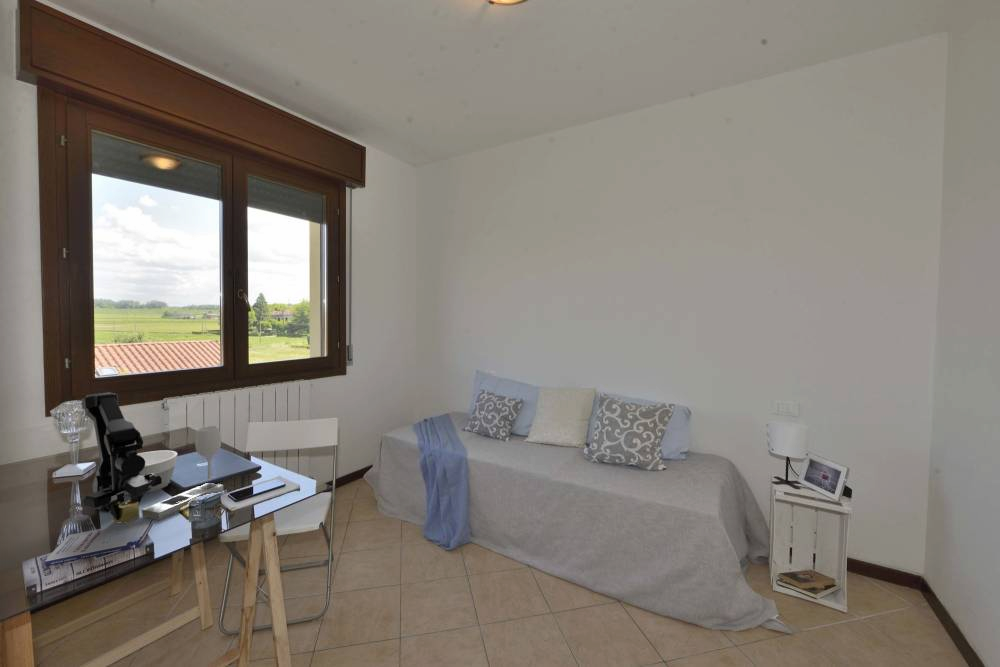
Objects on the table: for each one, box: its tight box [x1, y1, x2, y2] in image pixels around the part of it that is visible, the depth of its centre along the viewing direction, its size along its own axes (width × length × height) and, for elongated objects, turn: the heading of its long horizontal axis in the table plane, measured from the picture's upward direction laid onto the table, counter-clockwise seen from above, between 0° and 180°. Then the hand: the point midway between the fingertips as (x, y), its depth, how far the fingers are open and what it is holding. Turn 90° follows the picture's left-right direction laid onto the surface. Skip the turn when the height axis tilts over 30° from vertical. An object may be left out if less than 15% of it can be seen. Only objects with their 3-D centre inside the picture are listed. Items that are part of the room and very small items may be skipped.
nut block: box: [112, 499, 140, 524], centre depth 135 cm, size 4×4×5 cm
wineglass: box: [194, 425, 222, 479], centre depth 163 cm, size 9×9×21 cm
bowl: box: [124, 449, 178, 496], centre depth 160 cm, size 19×19×11 cm
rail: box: [141, 483, 224, 521], centre depth 146 cm, size 8×22×3 cm, turn 162°
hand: (126, 516), depth 135 cm, fingers closed on nut block, 4 cm apart
